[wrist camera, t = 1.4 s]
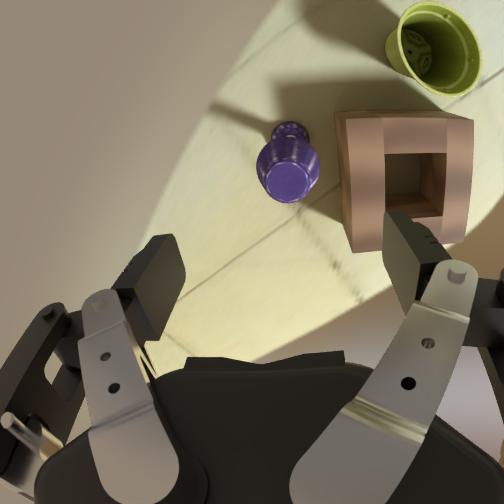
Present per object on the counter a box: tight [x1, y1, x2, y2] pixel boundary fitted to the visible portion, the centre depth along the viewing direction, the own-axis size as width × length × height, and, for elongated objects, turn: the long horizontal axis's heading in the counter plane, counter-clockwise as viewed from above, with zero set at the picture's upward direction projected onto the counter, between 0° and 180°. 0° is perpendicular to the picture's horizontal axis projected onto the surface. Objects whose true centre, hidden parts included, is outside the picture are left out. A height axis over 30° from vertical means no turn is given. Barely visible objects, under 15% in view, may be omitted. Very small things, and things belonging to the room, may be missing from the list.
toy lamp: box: [256, 122, 320, 203], centre depth 26 cm, size 5×5×17 cm
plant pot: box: [385, 2, 482, 97], centre depth 22 cm, size 9×9×9 cm
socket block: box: [334, 110, 474, 253], centre depth 30 cm, size 14×14×7 cm
